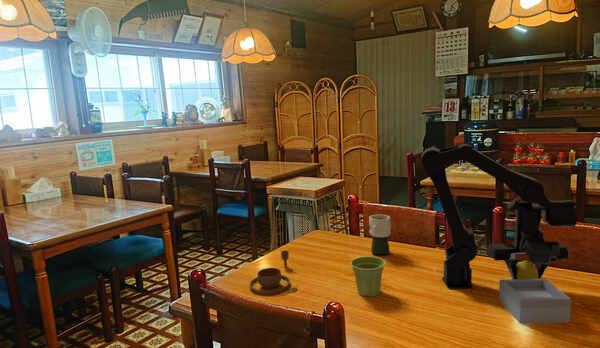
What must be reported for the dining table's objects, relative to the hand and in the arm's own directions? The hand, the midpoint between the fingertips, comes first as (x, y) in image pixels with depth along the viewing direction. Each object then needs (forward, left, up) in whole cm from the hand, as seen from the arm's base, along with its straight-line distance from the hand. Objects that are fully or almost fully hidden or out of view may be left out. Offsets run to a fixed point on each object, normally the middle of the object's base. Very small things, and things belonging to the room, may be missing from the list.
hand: (525, 281), depth 109 cm
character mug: (-35, +30, -2) cm, 46 cm away
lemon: (0, 0, -2) cm, 2 cm away
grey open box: (-4, -12, -2) cm, 13 cm away
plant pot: (-42, 0, -2) cm, 42 cm away
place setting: (-68, +9, -3) cm, 69 cm away
